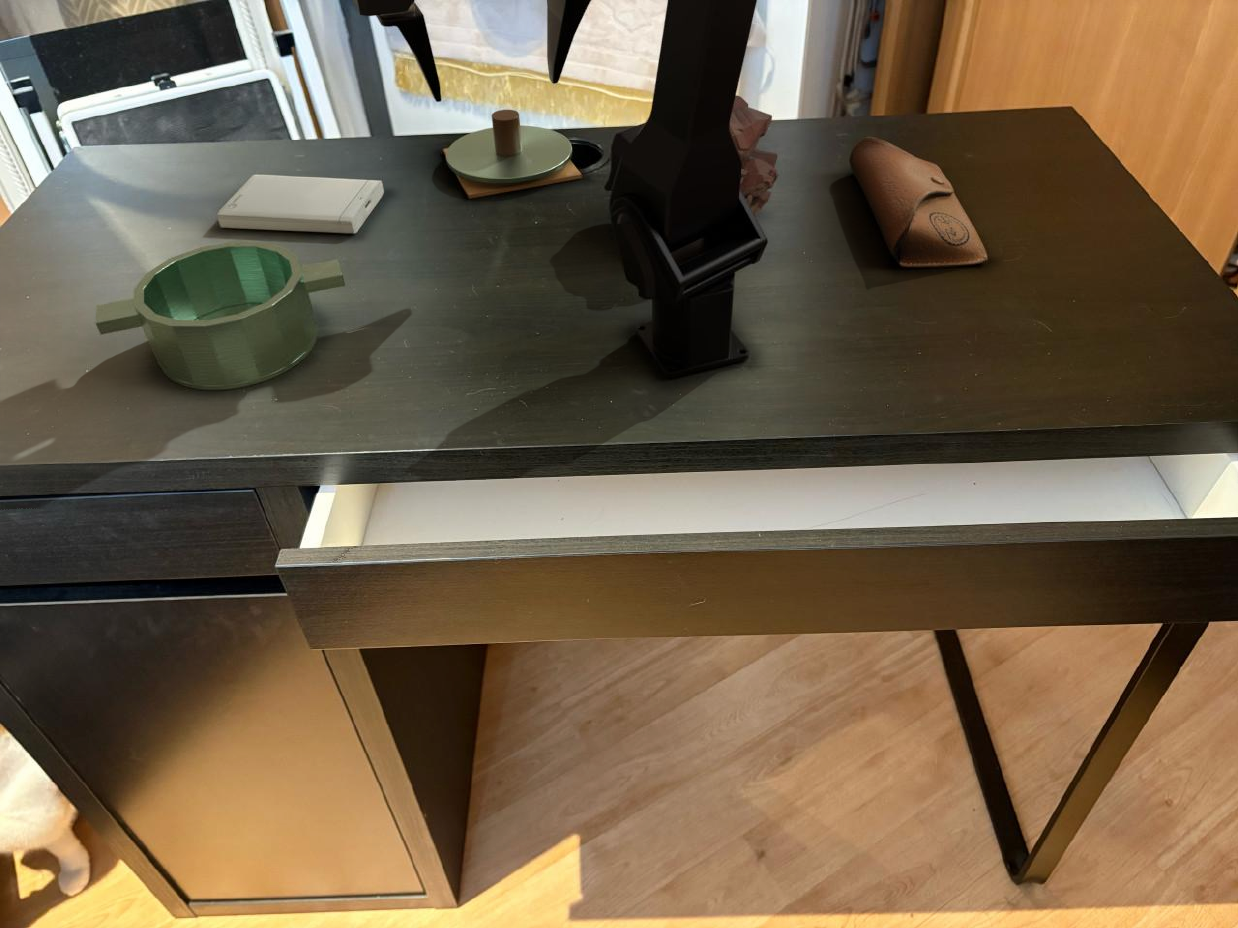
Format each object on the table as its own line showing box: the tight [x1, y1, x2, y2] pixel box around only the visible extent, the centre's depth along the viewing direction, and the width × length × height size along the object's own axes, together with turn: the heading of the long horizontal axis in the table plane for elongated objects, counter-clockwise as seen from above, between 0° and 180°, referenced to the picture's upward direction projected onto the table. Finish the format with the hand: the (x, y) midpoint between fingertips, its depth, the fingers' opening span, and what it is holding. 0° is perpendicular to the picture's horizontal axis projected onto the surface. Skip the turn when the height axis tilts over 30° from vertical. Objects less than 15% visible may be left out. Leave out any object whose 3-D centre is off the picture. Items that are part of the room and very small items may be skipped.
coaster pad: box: [442, 147, 583, 200], centre depth 94 cm, size 11×11×1 cm
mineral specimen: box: [729, 94, 779, 216], centre depth 80 cm, size 12×13×15 cm
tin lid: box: [445, 109, 573, 183], centre depth 92 cm, size 12×12×5 cm
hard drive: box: [216, 174, 385, 235], centre depth 87 cm, size 2×8×12 cm
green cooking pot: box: [94, 241, 346, 391], centre depth 70 cm, size 11×17×5 cm
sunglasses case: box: [848, 136, 989, 269], centre depth 83 cm, size 18×7×7 cm, turn 2°
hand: (496, 91), depth 74 cm, fingers open, 9 cm apart
